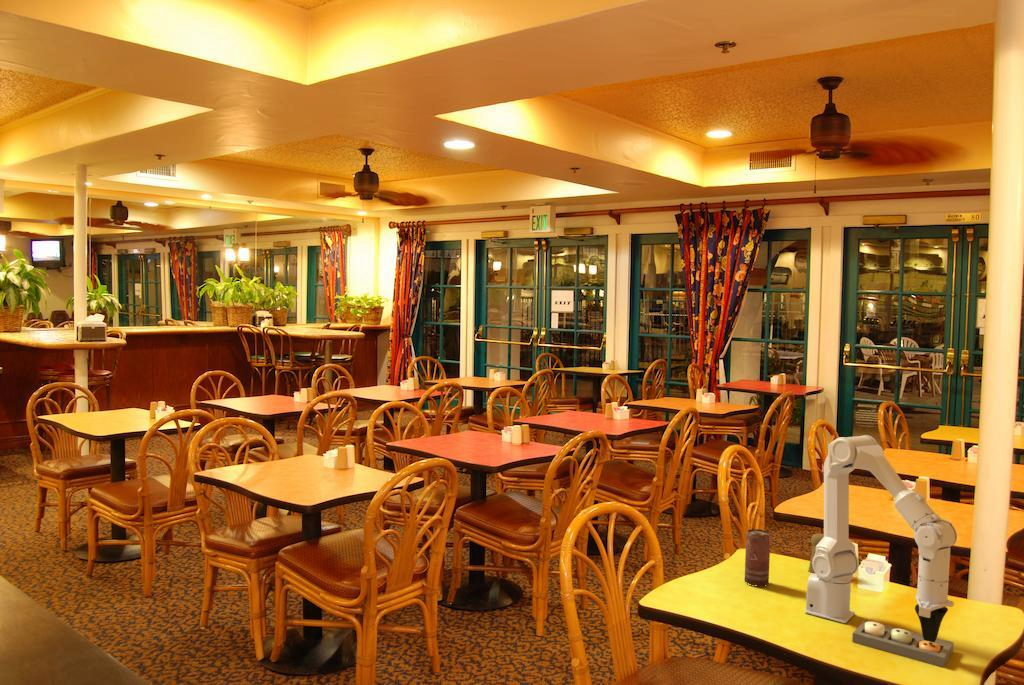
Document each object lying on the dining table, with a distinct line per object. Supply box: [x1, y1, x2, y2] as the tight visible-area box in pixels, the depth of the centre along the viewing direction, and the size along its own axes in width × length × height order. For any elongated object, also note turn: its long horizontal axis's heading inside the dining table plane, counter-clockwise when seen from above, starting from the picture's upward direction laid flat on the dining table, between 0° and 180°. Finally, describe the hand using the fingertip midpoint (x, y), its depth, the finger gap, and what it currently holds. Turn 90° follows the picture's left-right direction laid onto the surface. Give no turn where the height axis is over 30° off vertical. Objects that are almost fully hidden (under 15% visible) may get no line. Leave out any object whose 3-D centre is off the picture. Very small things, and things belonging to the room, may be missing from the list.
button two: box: [891, 628, 912, 645], centre depth 169 cm, size 4×4×2 cm
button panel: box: [851, 619, 955, 668], centre depth 170 cm, size 18×10×2 cm, turn 51°
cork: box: [807, 533, 824, 574], centre depth 216 cm, size 6×6×11 cm
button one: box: [864, 621, 885, 638], centre depth 172 cm, size 4×4×2 cm
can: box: [744, 528, 771, 587], centre depth 206 cm, size 6×6×14 cm
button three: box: [919, 641, 940, 653], centre depth 165 cm, size 4×4×2 cm
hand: (929, 640), depth 165 cm, fingers closed
